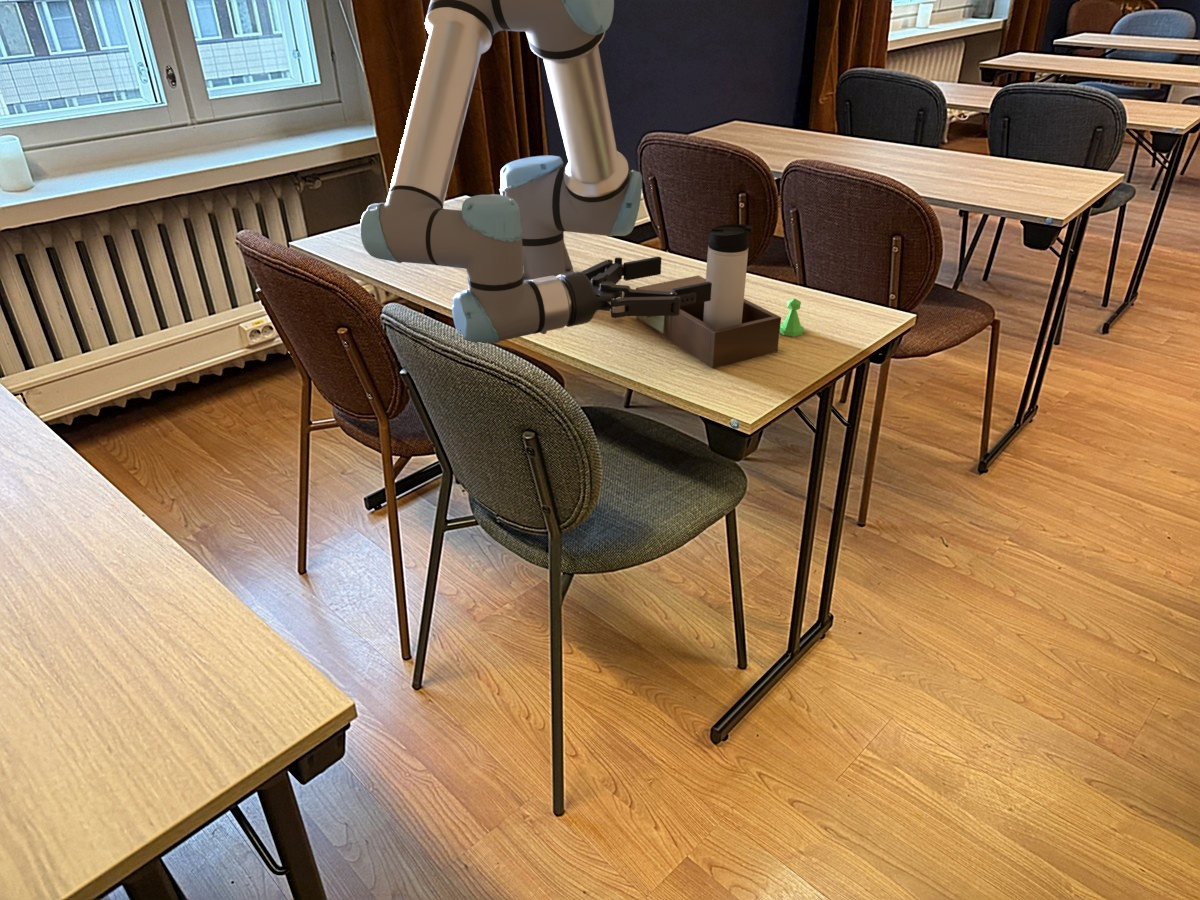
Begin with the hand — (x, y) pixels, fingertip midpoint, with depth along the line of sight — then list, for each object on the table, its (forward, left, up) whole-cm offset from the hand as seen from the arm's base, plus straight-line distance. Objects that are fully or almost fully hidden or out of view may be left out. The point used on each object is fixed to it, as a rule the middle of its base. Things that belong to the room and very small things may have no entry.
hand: (684, 277), depth 131 cm
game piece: (+1, +22, -13) cm, 26 cm away
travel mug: (0, +8, -13) cm, 16 cm away
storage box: (-5, +8, -13) cm, 16 cm away
